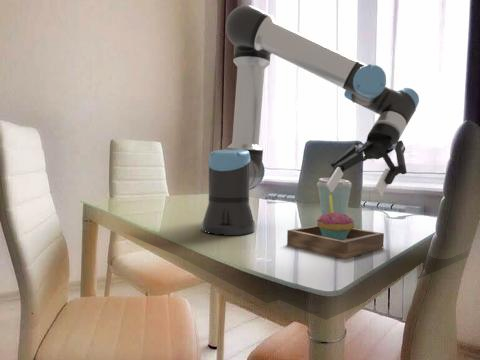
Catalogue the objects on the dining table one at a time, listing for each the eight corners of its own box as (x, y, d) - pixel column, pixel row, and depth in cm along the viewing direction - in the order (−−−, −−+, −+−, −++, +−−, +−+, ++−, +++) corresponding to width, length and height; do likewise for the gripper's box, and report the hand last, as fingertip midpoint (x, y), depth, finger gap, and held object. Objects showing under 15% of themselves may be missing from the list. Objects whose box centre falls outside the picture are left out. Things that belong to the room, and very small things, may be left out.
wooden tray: (287, 244, 86) (287, 230, 86) (327, 236, 96) (327, 223, 96) (343, 259, 74) (344, 242, 74) (383, 248, 84) (383, 233, 84)
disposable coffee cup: (356, 226, 113) (358, 178, 112) (339, 230, 105) (340, 179, 105) (327, 221, 120) (328, 177, 120) (309, 225, 113) (310, 178, 112)
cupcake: (309, 240, 86) (310, 191, 86) (332, 236, 91) (334, 190, 90) (337, 248, 79) (339, 194, 79) (361, 243, 84) (362, 193, 83)
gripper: (439, 141, 88) (407, 206, 79) (351, 143, 107) (318, 196, 99) (430, 117, 84) (396, 183, 76) (341, 124, 104) (306, 177, 95)
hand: (352, 190), depth 87 cm, fingers open, 13 cm apart
